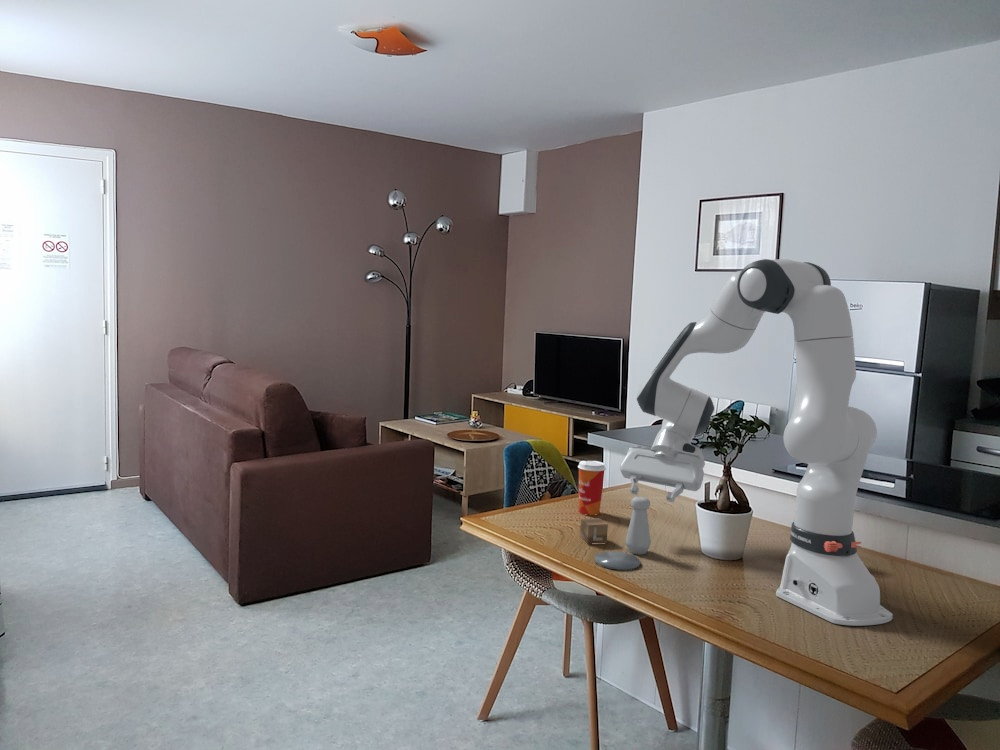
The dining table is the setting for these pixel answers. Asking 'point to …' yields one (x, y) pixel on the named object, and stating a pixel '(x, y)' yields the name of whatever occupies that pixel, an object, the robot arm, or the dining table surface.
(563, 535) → the dining table surface
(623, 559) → the coaster
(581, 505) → the paper cup
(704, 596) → the dining table surface
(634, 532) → the salt shaker
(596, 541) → the cube
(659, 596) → the dining table surface
